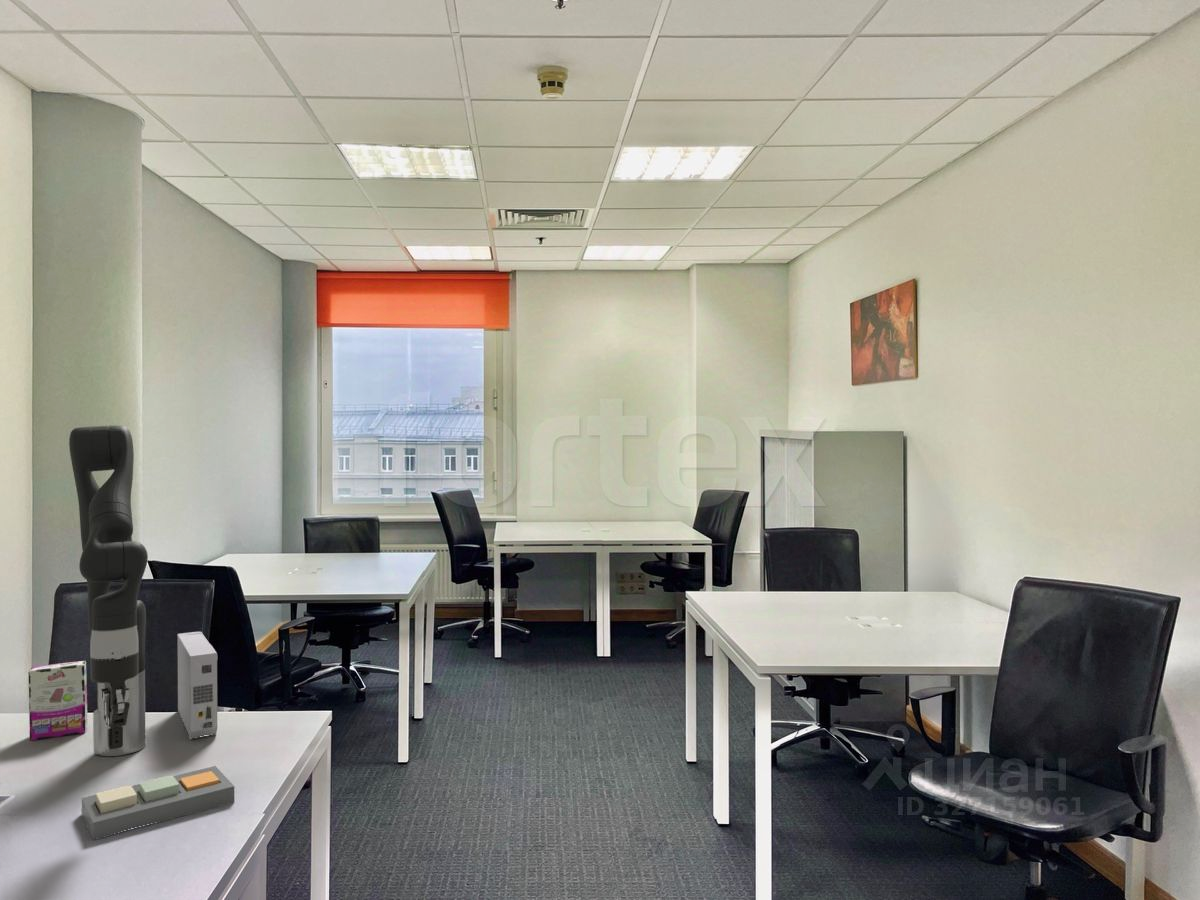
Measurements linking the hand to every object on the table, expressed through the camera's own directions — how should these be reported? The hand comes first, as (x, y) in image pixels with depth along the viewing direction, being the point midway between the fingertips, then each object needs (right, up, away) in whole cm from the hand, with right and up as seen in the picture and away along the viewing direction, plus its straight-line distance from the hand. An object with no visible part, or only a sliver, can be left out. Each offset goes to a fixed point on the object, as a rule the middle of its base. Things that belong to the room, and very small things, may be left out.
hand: (115, 747), depth 147 cm
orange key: (+11, -12, +9) cm, 18 cm away
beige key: (0, -10, 0) cm, 11 cm away
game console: (-11, -13, +51) cm, 54 cm away
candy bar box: (-40, -14, +45) cm, 62 cm away
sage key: (+5, -11, +5) cm, 13 cm away
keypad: (+5, -13, +5) cm, 15 cm away
